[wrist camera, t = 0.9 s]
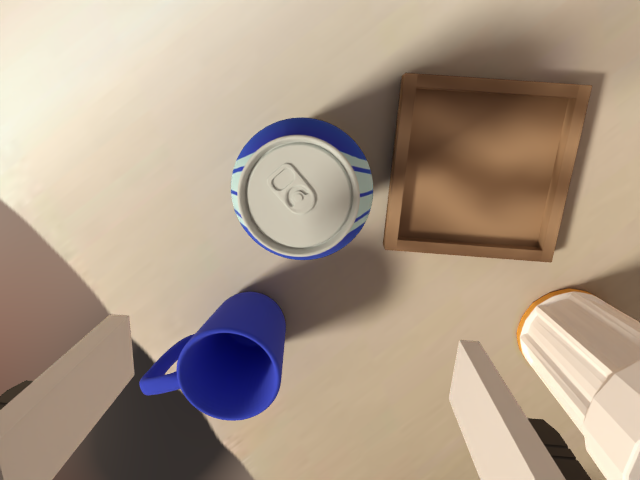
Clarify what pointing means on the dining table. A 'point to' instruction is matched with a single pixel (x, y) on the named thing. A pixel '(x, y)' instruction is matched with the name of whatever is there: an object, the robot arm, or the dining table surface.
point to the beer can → (302, 188)
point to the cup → (590, 372)
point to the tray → (482, 165)
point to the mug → (227, 360)
